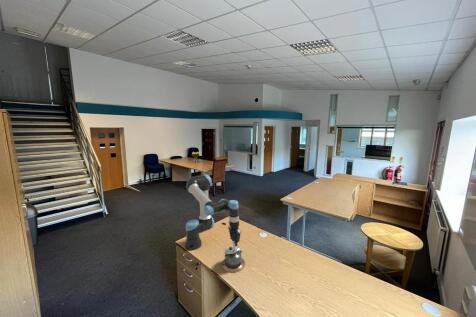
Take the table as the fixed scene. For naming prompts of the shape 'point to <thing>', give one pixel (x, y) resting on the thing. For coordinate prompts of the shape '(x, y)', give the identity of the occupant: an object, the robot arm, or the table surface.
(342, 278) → the table surface
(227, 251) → the lid
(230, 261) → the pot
